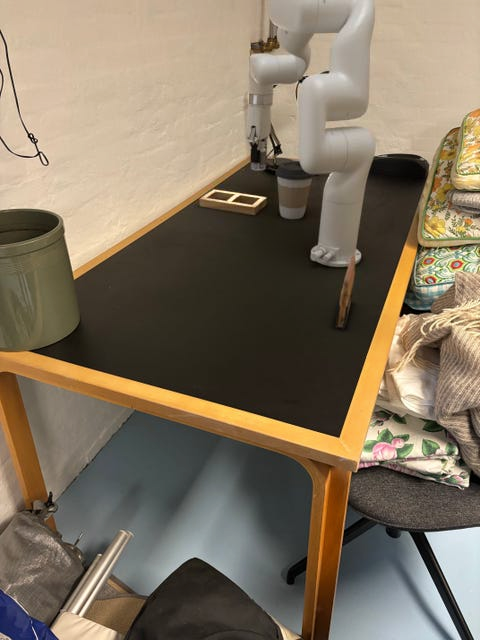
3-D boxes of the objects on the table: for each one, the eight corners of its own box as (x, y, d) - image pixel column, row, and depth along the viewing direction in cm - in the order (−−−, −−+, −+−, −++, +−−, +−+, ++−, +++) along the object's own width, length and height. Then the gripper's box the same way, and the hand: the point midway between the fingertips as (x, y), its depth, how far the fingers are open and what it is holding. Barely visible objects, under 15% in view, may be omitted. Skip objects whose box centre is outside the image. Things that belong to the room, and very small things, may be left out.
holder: (254, 215, 152) (254, 207, 151) (199, 206, 159) (199, 198, 157) (266, 204, 160) (266, 197, 159) (213, 196, 167) (213, 189, 165)
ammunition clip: (342, 301, 109) (349, 251, 102) (351, 303, 108) (358, 252, 102) (335, 327, 100) (342, 274, 94) (344, 329, 100) (352, 275, 93)
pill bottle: (264, 166, 165) (265, 140, 161) (266, 170, 161) (267, 144, 157) (250, 166, 165) (251, 140, 161) (251, 170, 161) (251, 143, 157)
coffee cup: (317, 219, 150) (322, 168, 142) (283, 223, 147) (286, 172, 139) (299, 206, 159) (303, 158, 151) (267, 211, 156) (269, 162, 148)
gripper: (259, 94, 160) (257, 153, 170) (238, 103, 147) (237, 165, 157) (281, 96, 158) (278, 155, 167) (261, 105, 144) (259, 168, 154)
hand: (258, 159), depth 162 cm, fingers closed on pill bottle, 4 cm apart
